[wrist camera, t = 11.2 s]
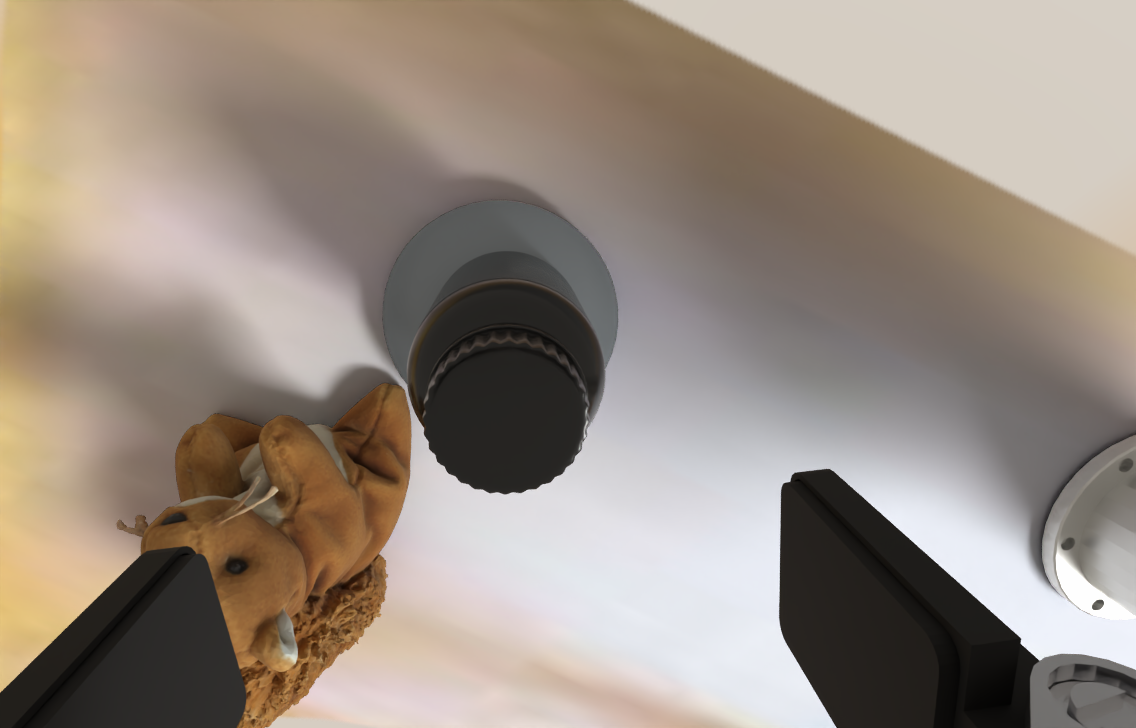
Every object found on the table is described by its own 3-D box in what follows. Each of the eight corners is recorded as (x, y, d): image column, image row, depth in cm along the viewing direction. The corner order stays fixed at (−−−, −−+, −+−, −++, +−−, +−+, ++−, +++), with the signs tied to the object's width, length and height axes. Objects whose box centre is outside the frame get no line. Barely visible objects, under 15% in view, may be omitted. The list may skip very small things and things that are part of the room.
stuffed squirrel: (406, 366, 30) (335, 495, 18) (434, 604, 34) (393, 847, 22) (197, 379, 29) (-33, 524, 17) (252, 621, 33) (99, 884, 21)
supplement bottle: (405, 294, 28) (332, 374, 16) (536, 222, 27) (555, 250, 16) (482, 416, 30) (464, 562, 18) (605, 349, 29) (666, 457, 18)
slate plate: (605, 189, 29) (610, 189, 27) (619, 406, 32) (624, 416, 30) (369, 211, 28) (362, 212, 26) (408, 430, 31) (403, 442, 30)
